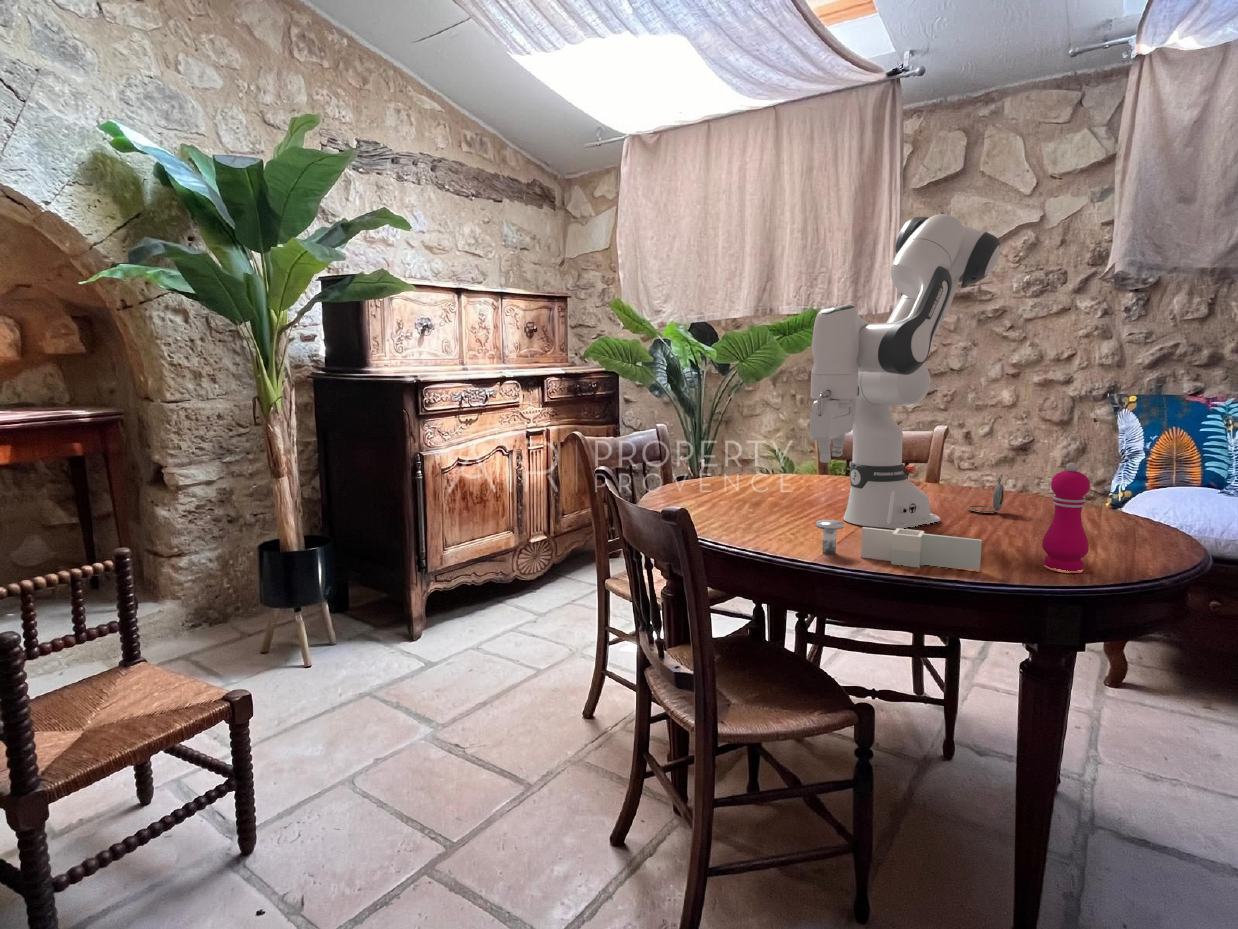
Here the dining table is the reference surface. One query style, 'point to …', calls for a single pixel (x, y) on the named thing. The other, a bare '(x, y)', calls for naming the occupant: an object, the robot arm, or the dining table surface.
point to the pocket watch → (995, 498)
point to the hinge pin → (829, 534)
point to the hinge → (920, 548)
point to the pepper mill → (1067, 521)
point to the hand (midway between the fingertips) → (831, 459)
